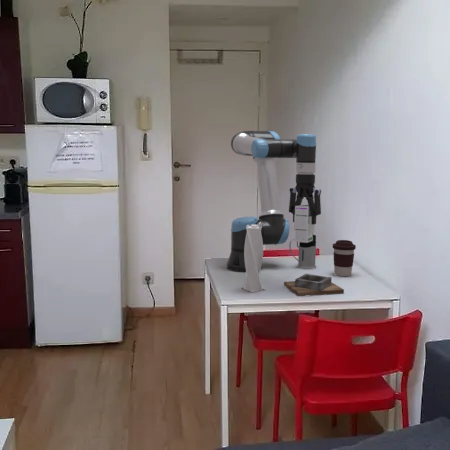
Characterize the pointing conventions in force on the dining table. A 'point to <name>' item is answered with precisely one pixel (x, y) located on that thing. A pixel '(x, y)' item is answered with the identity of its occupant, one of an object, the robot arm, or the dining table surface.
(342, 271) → the coffee cup
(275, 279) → the dining table surface
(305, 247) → the glass holder
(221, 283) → the dining table surface
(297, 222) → the syrup box
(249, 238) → the skyscraper
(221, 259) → the dining table surface
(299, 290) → the socket board
